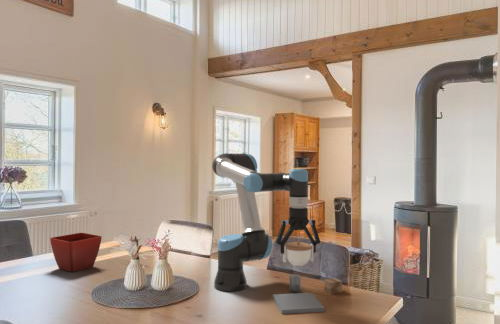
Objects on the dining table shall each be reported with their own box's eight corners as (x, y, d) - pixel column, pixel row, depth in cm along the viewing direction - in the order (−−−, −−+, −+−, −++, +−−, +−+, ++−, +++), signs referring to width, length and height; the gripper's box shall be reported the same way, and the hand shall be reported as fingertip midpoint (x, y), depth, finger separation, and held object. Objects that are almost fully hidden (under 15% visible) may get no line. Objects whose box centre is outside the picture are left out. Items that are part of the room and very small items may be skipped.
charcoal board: (281, 313, 147) (281, 309, 147) (272, 297, 164) (272, 294, 164) (324, 311, 149) (324, 307, 149) (311, 296, 166) (311, 292, 166)
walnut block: (330, 294, 169) (330, 282, 169) (324, 290, 173) (324, 279, 173) (342, 292, 171) (342, 281, 171) (335, 289, 175) (335, 278, 175)
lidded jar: (305, 269, 149) (305, 245, 149) (280, 265, 155) (280, 241, 154) (315, 262, 158) (315, 240, 158) (291, 259, 164) (292, 237, 164)
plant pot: (102, 266, 211) (102, 235, 211) (70, 275, 195) (70, 242, 194) (81, 261, 221) (81, 232, 221) (49, 269, 205) (49, 237, 205)
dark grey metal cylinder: (291, 293, 169) (291, 277, 169) (288, 290, 174) (288, 274, 174) (302, 293, 169) (302, 277, 169) (299, 289, 174) (299, 274, 174)
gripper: (272, 208, 151) (272, 264, 151) (328, 207, 154) (328, 262, 154) (268, 206, 158) (268, 259, 158) (322, 205, 162) (322, 257, 162)
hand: (298, 261), depth 156 cm, fingers closed on lidded jar, 11 cm apart
